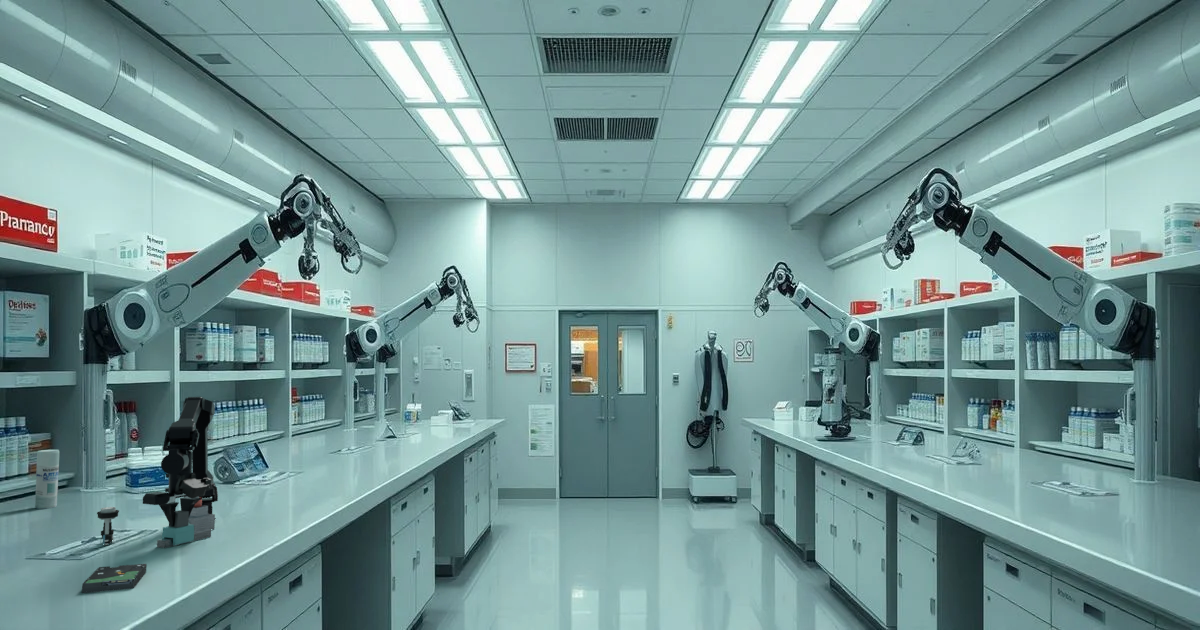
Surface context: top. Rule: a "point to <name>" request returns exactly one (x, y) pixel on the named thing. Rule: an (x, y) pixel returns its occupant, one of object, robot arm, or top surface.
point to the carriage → (180, 529)
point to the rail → (197, 536)
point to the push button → (107, 523)
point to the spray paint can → (47, 479)
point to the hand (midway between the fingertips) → (178, 525)
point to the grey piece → (201, 518)
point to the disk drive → (114, 578)
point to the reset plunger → (198, 503)
